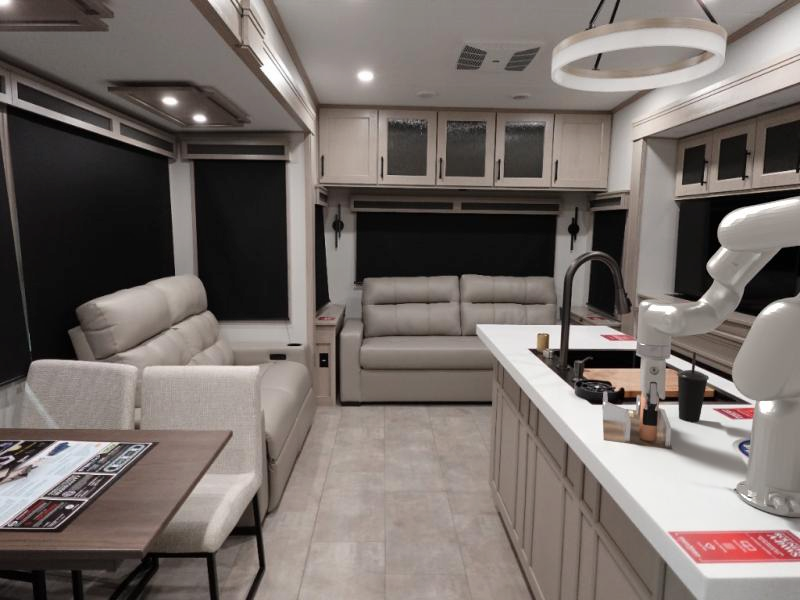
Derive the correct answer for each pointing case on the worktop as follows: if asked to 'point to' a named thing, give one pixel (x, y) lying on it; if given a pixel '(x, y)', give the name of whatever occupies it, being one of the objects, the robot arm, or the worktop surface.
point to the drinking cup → (691, 393)
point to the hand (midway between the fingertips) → (648, 421)
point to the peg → (646, 430)
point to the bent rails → (623, 419)
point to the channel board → (631, 433)
